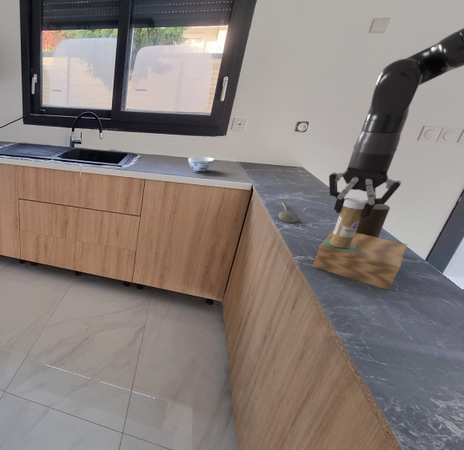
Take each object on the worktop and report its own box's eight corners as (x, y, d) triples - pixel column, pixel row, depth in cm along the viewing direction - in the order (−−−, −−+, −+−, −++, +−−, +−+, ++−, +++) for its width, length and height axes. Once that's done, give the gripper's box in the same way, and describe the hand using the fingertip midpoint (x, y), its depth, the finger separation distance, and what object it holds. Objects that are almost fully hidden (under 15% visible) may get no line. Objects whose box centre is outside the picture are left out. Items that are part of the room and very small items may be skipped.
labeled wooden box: (397, 265, 89) (407, 243, 87) (389, 290, 79) (400, 266, 76) (328, 247, 101) (335, 227, 98) (312, 267, 90) (320, 245, 87)
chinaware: (187, 172, 196) (188, 160, 193) (186, 167, 209) (188, 156, 206) (213, 174, 191) (215, 161, 188) (210, 168, 204) (212, 157, 201)
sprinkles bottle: (344, 250, 84) (362, 203, 79) (325, 243, 88) (341, 198, 82) (353, 246, 86) (371, 200, 80) (334, 240, 89) (350, 196, 84)
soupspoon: (277, 222, 122) (297, 226, 119) (280, 215, 120) (300, 218, 117) (274, 204, 139) (291, 206, 136) (276, 197, 137) (294, 199, 134)
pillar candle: (363, 252, 97) (381, 207, 91) (328, 239, 106) (343, 198, 100) (381, 246, 101) (399, 202, 95) (346, 234, 109) (361, 193, 103)
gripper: (417, 151, 74) (389, 218, 80) (340, 145, 84) (321, 205, 90) (414, 156, 69) (385, 226, 76) (333, 149, 79) (314, 211, 86)
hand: (350, 214), depth 83 cm, fingers closed on sprinkles bottle, 4 cm apart
